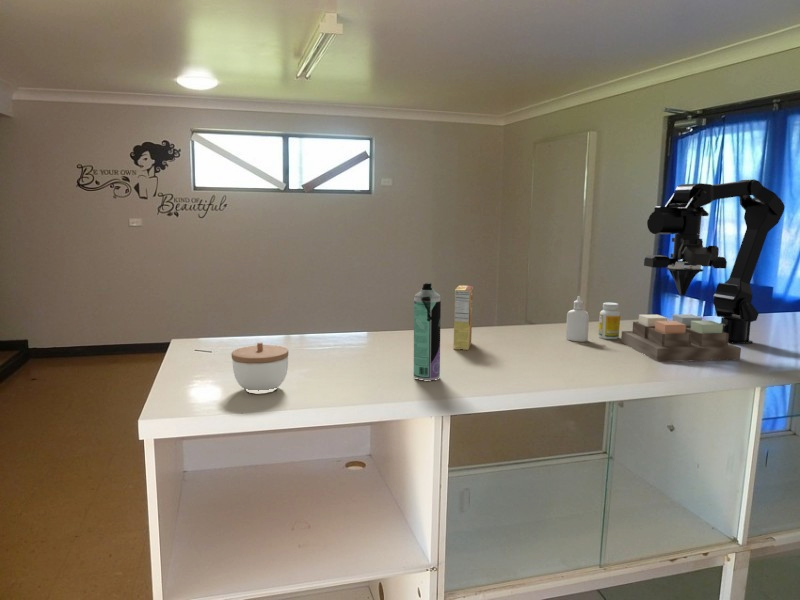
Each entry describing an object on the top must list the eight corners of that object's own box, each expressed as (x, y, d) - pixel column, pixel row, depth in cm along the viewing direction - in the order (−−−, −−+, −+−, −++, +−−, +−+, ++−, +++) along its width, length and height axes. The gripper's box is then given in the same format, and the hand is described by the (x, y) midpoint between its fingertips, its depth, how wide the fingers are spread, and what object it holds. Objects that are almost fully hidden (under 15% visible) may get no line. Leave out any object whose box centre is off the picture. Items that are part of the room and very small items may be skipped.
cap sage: (709, 332, 145) (711, 320, 145) (721, 336, 140) (722, 324, 140) (690, 332, 145) (691, 320, 145) (701, 337, 140) (702, 324, 140)
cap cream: (657, 325, 154) (657, 314, 153) (666, 329, 149) (667, 317, 149) (638, 325, 154) (639, 314, 153) (647, 329, 149) (647, 318, 148)
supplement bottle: (594, 337, 164) (596, 303, 162) (605, 334, 167) (607, 301, 165) (612, 340, 159) (614, 305, 158) (622, 337, 163) (624, 303, 161)
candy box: (456, 342, 157) (457, 285, 155) (472, 342, 156) (473, 285, 154) (453, 349, 149) (453, 289, 146) (469, 350, 148) (471, 289, 145)
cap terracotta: (674, 332, 145) (675, 320, 145) (684, 337, 140) (685, 324, 140) (654, 333, 145) (655, 321, 144) (664, 337, 140) (665, 324, 139)
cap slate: (690, 325, 154) (691, 314, 154) (701, 329, 149) (702, 317, 149) (672, 325, 154) (672, 314, 154) (681, 329, 149) (682, 317, 149)
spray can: (443, 380, 121) (444, 284, 118) (418, 382, 120) (419, 285, 117) (434, 373, 127) (435, 281, 124) (410, 375, 125) (410, 282, 122)
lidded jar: (268, 401, 108) (266, 351, 107) (221, 394, 112) (219, 346, 111) (299, 385, 118) (298, 339, 116) (255, 379, 122) (254, 335, 120)
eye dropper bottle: (576, 337, 163) (578, 294, 161) (590, 341, 158) (592, 297, 156) (563, 338, 161) (565, 295, 160) (577, 343, 156) (579, 298, 155)
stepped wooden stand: (694, 341, 158) (695, 319, 157) (739, 360, 138) (742, 335, 137) (621, 342, 157) (622, 320, 156) (656, 361, 138) (658, 335, 137)
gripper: (665, 234, 140) (660, 299, 143) (742, 236, 141) (736, 300, 143) (645, 233, 151) (640, 293, 154) (716, 234, 152) (711, 294, 154)
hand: (682, 295), depth 151 cm, fingers closed
